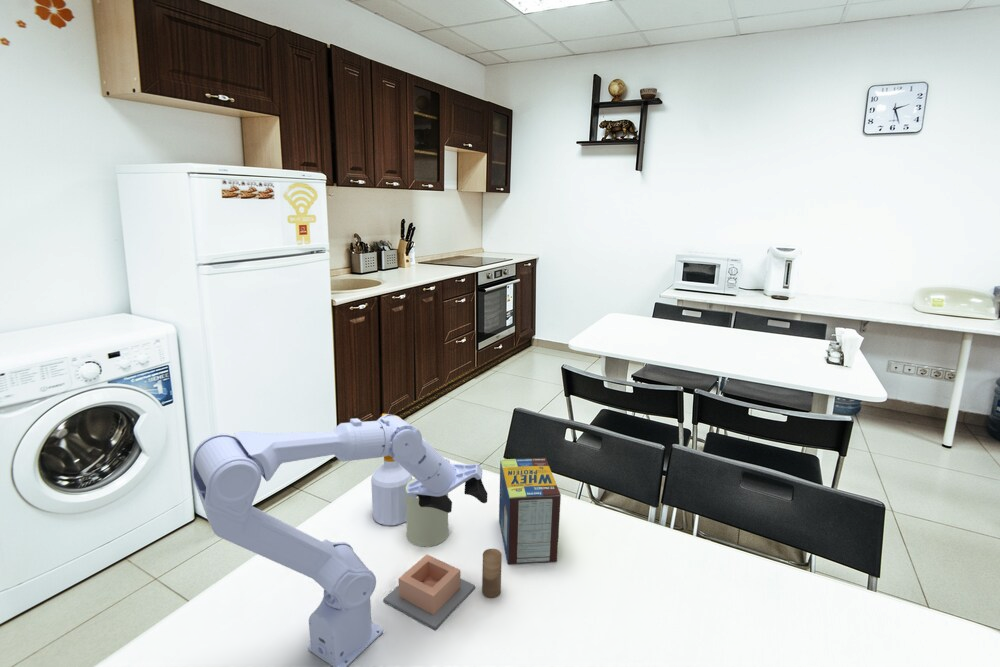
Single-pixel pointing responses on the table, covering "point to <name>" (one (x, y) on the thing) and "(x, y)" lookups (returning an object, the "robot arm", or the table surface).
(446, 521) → the can
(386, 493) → the soap bottle
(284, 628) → the table surface
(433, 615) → the terracotta holder
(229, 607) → the table surface
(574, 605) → the table surface
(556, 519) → the protein box
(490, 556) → the walnut peg
